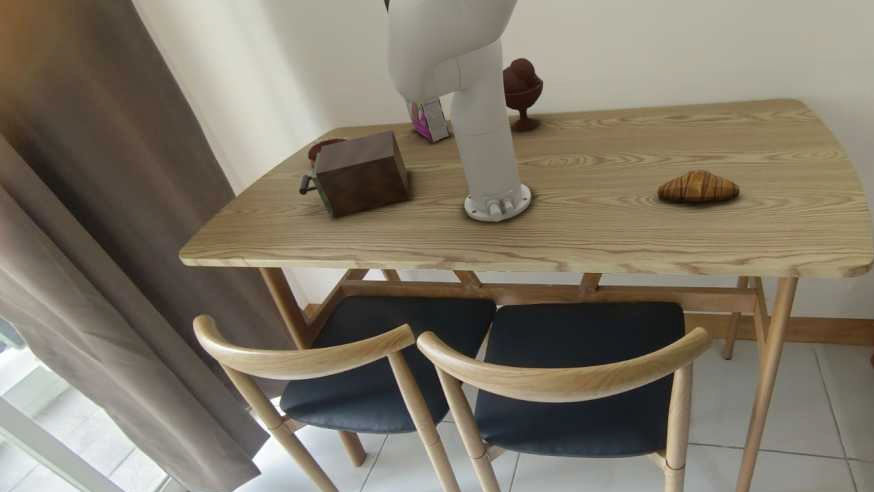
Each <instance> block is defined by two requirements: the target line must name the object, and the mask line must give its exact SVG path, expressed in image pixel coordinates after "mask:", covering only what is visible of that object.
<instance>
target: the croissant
mask: <svg viewBox="0 0 874 492" xmlns="http://www.w3.org/2000/svg"><path fill="white" fill-rule="evenodd" d="M740 191H741V189H740V186H739V184H737V183H735V182H733V181H731V180H730V179H727V178H724V177H721V176H719V175H716V174H715V175H714V174H713V173H712V172H710V171H709V170H703V169H695V170H690V171H687V172H686V173H685V174H683V175H682V176H678V177H676V178H674V179H671V180H669V181H667V182H665V183H663V184H662V185H660V186H659V187H658V189H657V192H656V193H657V196H658V198H659V199H662V200H665V201H673V202H685V203H695V204H701V203H707V202H714V201H715V202H717V201H718V202H720V201H725V200H731V199H734V198H737V197H739V194H740Z"/></svg>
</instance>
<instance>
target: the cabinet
mask: <svg viewBox="0 0 874 492" xmlns="http://www.w3.org/2000/svg"><path fill="white" fill-rule="evenodd" d="M346 140H347V139H346ZM316 176H317V177H318V180H319V182H320V184H321V186H322V188H323V190H324V192H325V195H326V197H327V199H328V201H329V203H330V205H331V207H332V209H333V211H334V212H333V214H334V215H335V217H336V218H339V217H344V216H349V215H352V214H356V213H360V212H364V211H369V210H373V209H377V208H381V207H386V206H389V205H394V204H397V203H402V202H406V201H409V200H410V195H409V193H410V192H409V181H408V171H407V168H406V165H405V162H404V160H403V157H402V153H401V150H400V148H399V144H398V142H397V138H396V136H395V133H394V131H393V129H392V130H390V129H389V130H386V131H382V132H378V133H373V134H369V135H364V136H360V137H356V138H352V139H348V140H347V141H343V142H338V143H334V144H330V145H325V146H322V147H321V152H320V156H319V161H318V165H317V170H316Z"/></svg>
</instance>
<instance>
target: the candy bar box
mask: <svg viewBox="0 0 874 492" xmlns="http://www.w3.org/2000/svg"><path fill="white" fill-rule="evenodd" d="M403 99H404V103H405V105H406V108H407V111H408V114H409V117H410V121H411V124H412V128H413V130H414V131H415V132H416V133H418V134H419V135H420V136H423V138H426V139H427V140H428V141H430V142H431V143H433V144H434V143H437V142H439V141H441V140H444V139H445V138H448V137H450V133H449V128H448V125H447V121H446V118H445V114H444V111H443V107H442V103H441V99H440V97H438V98H435V99H432V100H429V101H426V102H421V103H414V102H410V101H408V100H406V99H405V98H404V97H403Z"/></svg>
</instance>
